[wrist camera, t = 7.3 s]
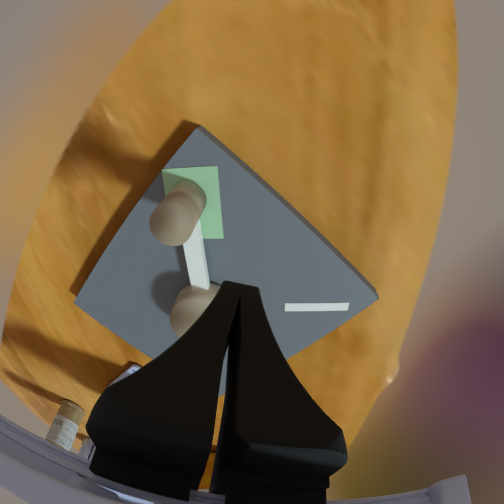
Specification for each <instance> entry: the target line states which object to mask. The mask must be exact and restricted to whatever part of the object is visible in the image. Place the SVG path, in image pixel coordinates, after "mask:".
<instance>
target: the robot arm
mask: <svg viewBox="0 0 504 504" xmlns="http://www.w3.org/2000/svg"><path fill="white" fill-rule="evenodd" d="M227 347H228V356H227V371H226V388H225V399H224V407H223V413H222V419H221V425H220V431H219V436H218V442H217V448H216V454H215V460H214V465H213V471H212V476H211V482H210V487H209V493H207V492H202V491H198V488H199V485H200V482H201V479H202V477H203V474H204V471H205V468H206V465H207V462H208V459H209V455H210V452H211V446H212V440H213V434H214V426H215V418H216V410H217V402H218V395H219V388H220V381H221V374H222V367H223V361H224V358H225V354H226V351H227ZM86 431H87V433H88V435H89V437H90V439H87V440H85V441H84V442H83V444H82V447H81V449H80V452H79V454H78V455H77V454H75V453H73V452H70V451H68V450H66V449H64V448H62V447H59V446H57V445H55V444H53V443H51V442H49V441H47V440H45V439H43V438H41V437H39V436H37V435H35V434H33V433H31V432H29V431H28V430H26V429H24V428H22V427H21V426H19V425H17V424H15V423H14V422H12V421H10V420H9V419H7V418H5V417H4V416H2V415H1V414H0V486H2V487H3V488H5V489H7V490H8V491H10V492H11V493H13V494H14V495H16V496H17V497H19V498H20V499H22V500H24V501H25V502H27V503H29V504H471V500H470V494H469V489H468V485H467V480H466V476H465V475H464V474H463V475H459V476H456V477H452V478H449V479H445V480H442V481H440V482H438V483H436V484H434V485H432V486H431V487H430V488H427V489H422V490H417V491H412V492H407V493H401V494H394V495H388V496H380V497H372V498H363V499H351V500H336V501H335V500H334V501H326V489H327V488H329V486H330V484H329V476H331V475H332V474H334V473H335V472H337V471H338V470H339V469H340V468H342V467H343V466H344V465H345V464H346V463H347V459H348V457H347V448H346V443H345V439H344V435H343V431H342V429H341V428H340V427H339V426H338V425H337V424H336V423H335V422H334V421H333V420H331V419H330V418H329V417H328V416H327V415H326V414H325V413H324V412H323V411H322V409H321V408H320V407H319V406H318V405H317V404H316V402H315V401H314V400H313V399H312V398H311V396H310V395H309V394H308V392H307V391H306V390H305V388H304V387H303V386H302V384H301V383H300V382H299V380H298V379H297V377H296V376H295V374H294V372H293V371H292V369H291V368H290V366H289V364H288V363H287V361H286V359H285V357H284V355H283V353H282V351H281V350H280V348H279V345H278V343H277V341H276V339H275V337H274V334H273V332H272V329H271V327H270V324H269V321H268V319H267V316H266V313H265V310H264V306H263V303H262V299H261V294H260V290H259V288H258V287H255V286H251V285H246V284H241V283H236V282H232V281H227V280H225V281H223V282H222V284H221V286H220V288H219V290H218V292H217V294H216V295H215V297H214V298H213V300H212V301H211V303H210V304H209V305H208V307H207V308H206V309H205V311H204V312H203V313H202V314H201V316H200V317H199V318H198V319H197V320H196V321H195V322H194V324H193V325H192V326H191V327H190V328H189V329H188V330H187V331H186V332H185V333H184V334H183V335H182V336H181V337H180V338H179V339H178V340H177V341H176V342H175V343H174V344H172V345H171V346H170V347H169V348H168V349H166V350H165V351H164V352H163V353H161V354H160V355H159V356H158V357H156V358H155V359H153V360H152V361H151V362H149V363H148V364H146V365H145V366H143V367H142V368H141V367H140V366H138V365H135V364H133V365H132V366H131V367H129V368H128V369H127V370H126V371H125V372H124V373H122V374H121V375H120V376H119V377H118V378H116V379H115V380H114V381H113V382H112V383H111V384H109V385H108V386H107V387H106V389H105V390H104V392H103V393H102V394H101V396H100V397H99V399H98V400H97V402H96V404H95V405H94V407H93V409H92V411H91V414H90V416H89V419H88V421H87V424H86Z"/></svg>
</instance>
